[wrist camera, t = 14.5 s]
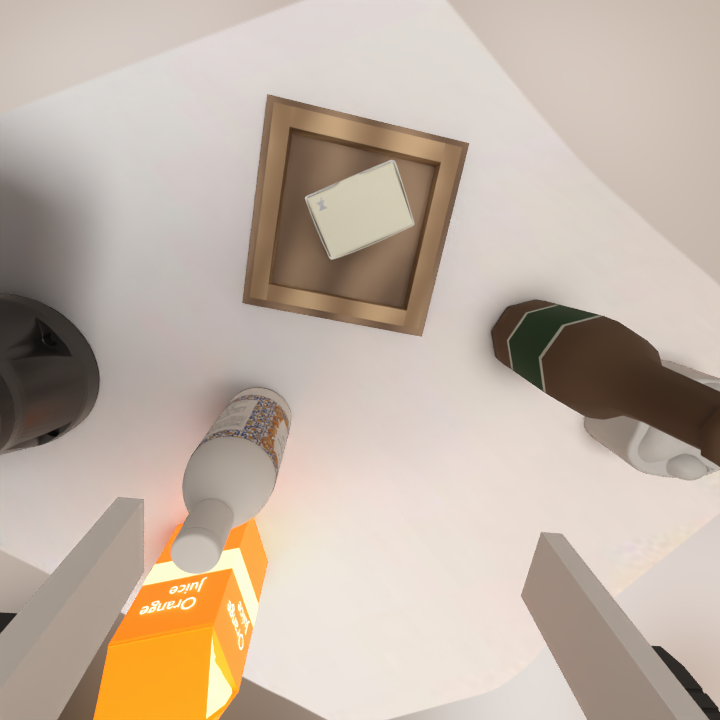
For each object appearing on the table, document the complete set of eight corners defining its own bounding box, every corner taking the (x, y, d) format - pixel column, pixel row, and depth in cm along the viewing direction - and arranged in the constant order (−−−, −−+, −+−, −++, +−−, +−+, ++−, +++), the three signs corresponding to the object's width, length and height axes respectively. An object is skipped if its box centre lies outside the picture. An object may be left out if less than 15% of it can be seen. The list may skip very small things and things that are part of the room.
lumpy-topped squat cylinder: (602, 353, 43) (666, 378, 34) (712, 364, 44) (800, 392, 35) (577, 440, 45) (631, 483, 37) (681, 448, 46) (756, 492, 38)
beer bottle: (569, 303, 41) (869, 374, 18) (549, 374, 43) (795, 520, 20) (497, 293, 40) (712, 354, 17) (481, 365, 42) (653, 507, 19)
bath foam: (291, 446, 44) (253, 603, 24) (227, 444, 43) (138, 601, 24) (293, 387, 42) (254, 507, 23) (226, 384, 41) (128, 503, 22)
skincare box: (329, 259, 37) (325, 264, 26) (311, 214, 36) (298, 197, 24) (392, 233, 37) (418, 226, 25) (376, 186, 36) (394, 156, 24)
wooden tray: (244, 301, 39) (237, 305, 36) (269, 98, 34) (263, 84, 31) (419, 334, 41) (425, 341, 38) (465, 146, 36) (476, 137, 33)
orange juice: (177, 523, 46) (59, 725, 26) (251, 509, 46) (188, 699, 26) (197, 577, 48) (102, 798, 29) (269, 563, 48) (222, 775, 29)
